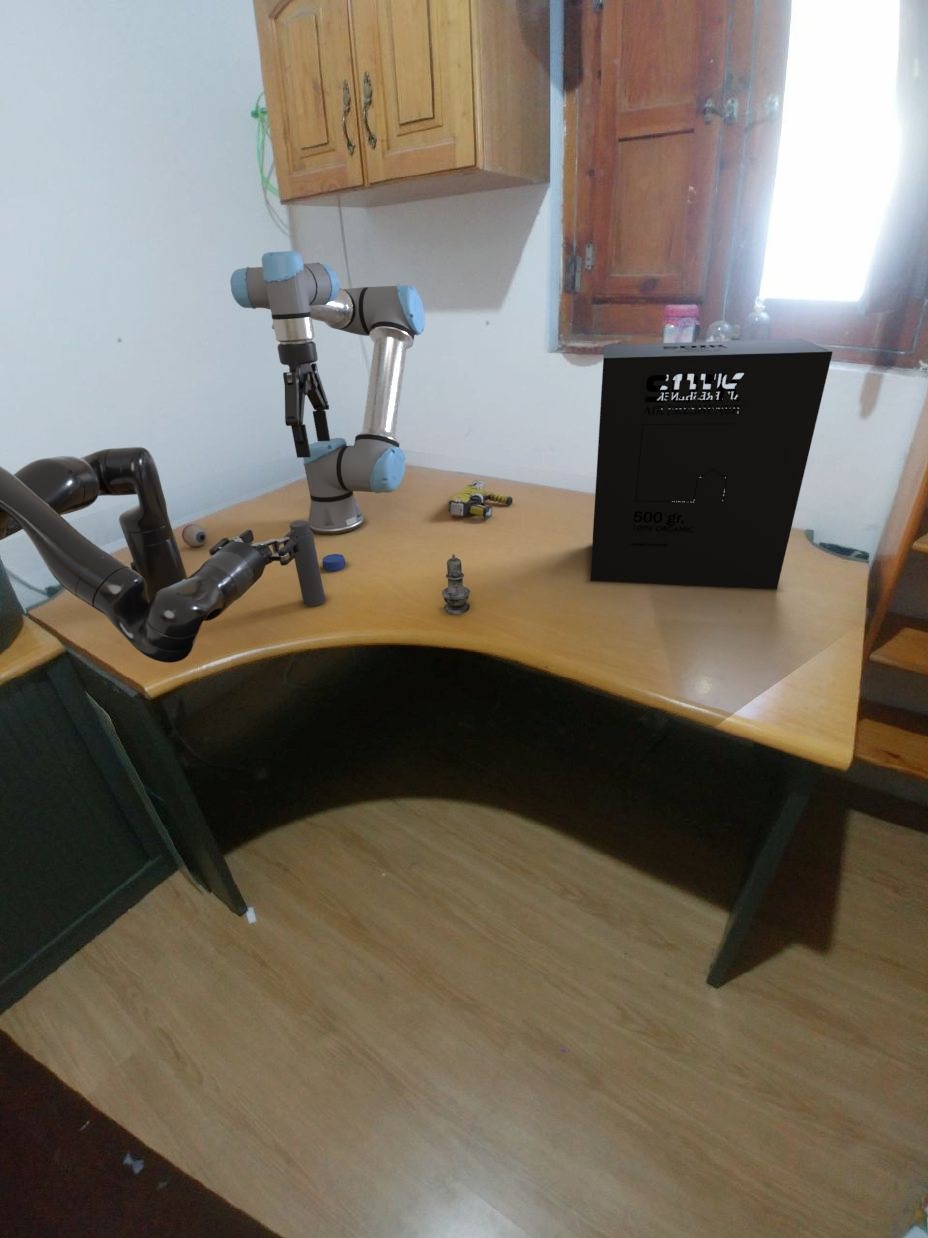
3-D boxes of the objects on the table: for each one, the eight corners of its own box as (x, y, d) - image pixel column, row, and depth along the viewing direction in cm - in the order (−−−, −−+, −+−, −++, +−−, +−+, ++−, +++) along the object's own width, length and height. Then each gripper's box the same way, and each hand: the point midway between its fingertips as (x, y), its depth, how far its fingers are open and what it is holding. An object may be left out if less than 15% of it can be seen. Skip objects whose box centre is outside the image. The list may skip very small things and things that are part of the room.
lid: (334, 573, 142) (333, 564, 141) (319, 569, 145) (317, 560, 143) (350, 565, 146) (348, 556, 144) (334, 560, 148) (332, 552, 147)
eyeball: (196, 552, 157) (189, 530, 154) (181, 548, 160) (174, 526, 157) (215, 543, 161) (209, 522, 158) (200, 540, 165) (193, 519, 162)
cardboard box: (756, 549, 141) (800, 338, 118) (776, 589, 124) (832, 351, 101) (592, 544, 148) (604, 344, 126) (590, 580, 131) (603, 357, 109)
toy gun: (520, 484, 182) (474, 477, 186) (498, 508, 162) (446, 499, 166) (519, 500, 184) (473, 492, 188) (497, 524, 164) (445, 516, 168)
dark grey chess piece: (468, 615, 121) (465, 561, 115) (439, 614, 122) (435, 559, 116) (473, 601, 126) (471, 548, 120) (446, 600, 127) (442, 547, 121)
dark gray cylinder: (314, 595, 133) (299, 518, 124) (329, 599, 131) (315, 521, 122) (299, 603, 129) (282, 525, 121) (314, 608, 127) (298, 529, 118)
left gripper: (195, 593, 100) (241, 552, 113) (276, 595, 97) (313, 554, 111) (182, 551, 96) (232, 515, 110) (266, 552, 94) (305, 515, 107)
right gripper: (298, 336, 132) (315, 435, 142) (252, 349, 110) (276, 465, 121) (332, 334, 131) (346, 434, 141) (292, 348, 109) (312, 464, 120)
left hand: (272, 534), depth 110 cm, fingers open, 8 cm apart
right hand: (314, 448), depth 131 cm, fingers open, 13 cm apart
